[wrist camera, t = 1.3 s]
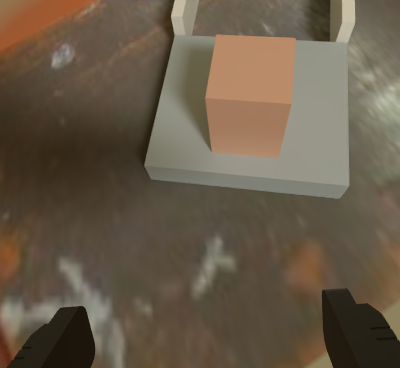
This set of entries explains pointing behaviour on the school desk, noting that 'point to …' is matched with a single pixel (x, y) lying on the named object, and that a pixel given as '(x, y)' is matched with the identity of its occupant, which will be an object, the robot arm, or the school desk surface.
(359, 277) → the school desk surface
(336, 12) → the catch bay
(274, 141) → the tile block
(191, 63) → the far plate
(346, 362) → the robot arm
